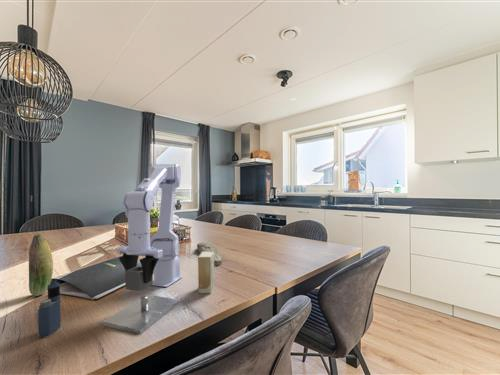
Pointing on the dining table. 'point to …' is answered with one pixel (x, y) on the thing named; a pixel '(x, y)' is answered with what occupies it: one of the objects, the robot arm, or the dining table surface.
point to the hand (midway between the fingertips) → (139, 280)
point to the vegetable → (39, 265)
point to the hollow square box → (136, 279)
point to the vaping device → (50, 311)
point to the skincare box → (206, 272)
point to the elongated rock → (210, 248)
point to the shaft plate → (141, 313)
